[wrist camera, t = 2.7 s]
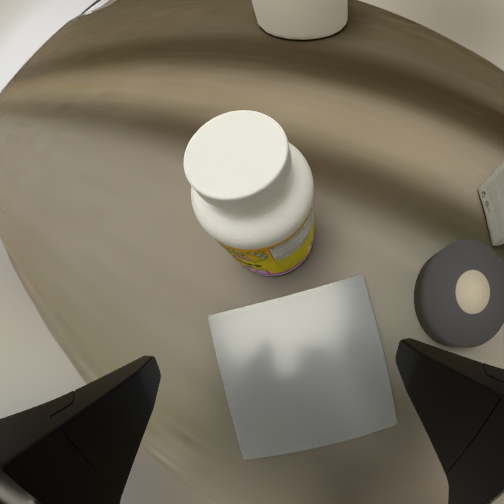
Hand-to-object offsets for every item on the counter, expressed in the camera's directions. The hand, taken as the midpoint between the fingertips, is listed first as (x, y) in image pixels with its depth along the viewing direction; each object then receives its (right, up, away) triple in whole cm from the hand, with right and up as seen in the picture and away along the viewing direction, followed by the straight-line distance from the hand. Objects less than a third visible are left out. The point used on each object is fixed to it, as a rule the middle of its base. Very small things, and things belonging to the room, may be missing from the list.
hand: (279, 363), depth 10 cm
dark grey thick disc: (+16, 0, +10) cm, 19 cm away
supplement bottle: (+1, +5, +15) cm, 16 cm away
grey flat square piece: (+3, -5, +11) cm, 13 cm away
